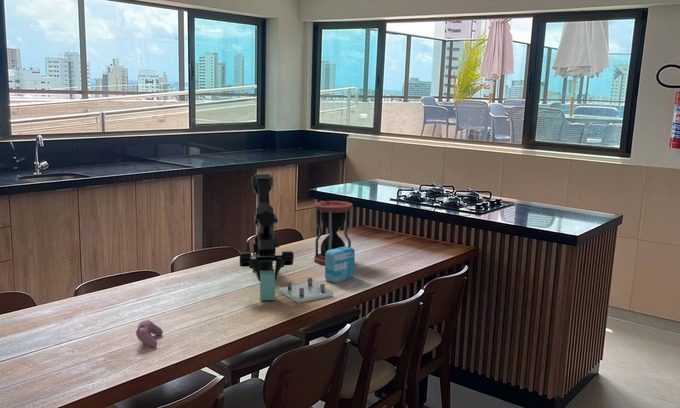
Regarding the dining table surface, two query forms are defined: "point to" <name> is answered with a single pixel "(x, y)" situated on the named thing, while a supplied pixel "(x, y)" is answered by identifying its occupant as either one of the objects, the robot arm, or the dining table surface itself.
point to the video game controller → (148, 333)
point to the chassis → (305, 291)
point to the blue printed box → (339, 264)
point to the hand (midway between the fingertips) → (267, 280)
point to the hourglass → (331, 226)
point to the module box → (267, 285)
